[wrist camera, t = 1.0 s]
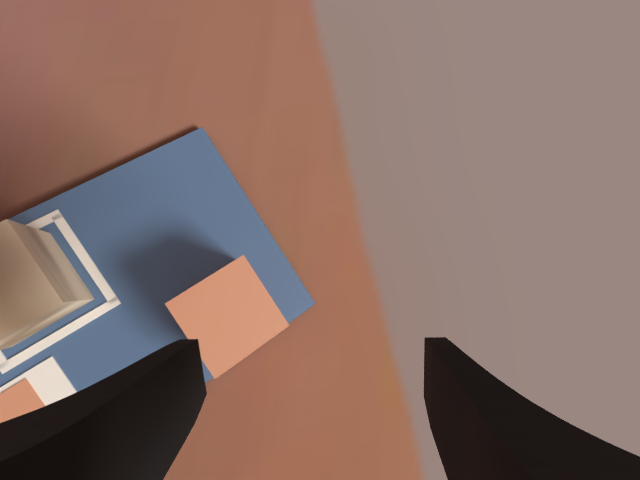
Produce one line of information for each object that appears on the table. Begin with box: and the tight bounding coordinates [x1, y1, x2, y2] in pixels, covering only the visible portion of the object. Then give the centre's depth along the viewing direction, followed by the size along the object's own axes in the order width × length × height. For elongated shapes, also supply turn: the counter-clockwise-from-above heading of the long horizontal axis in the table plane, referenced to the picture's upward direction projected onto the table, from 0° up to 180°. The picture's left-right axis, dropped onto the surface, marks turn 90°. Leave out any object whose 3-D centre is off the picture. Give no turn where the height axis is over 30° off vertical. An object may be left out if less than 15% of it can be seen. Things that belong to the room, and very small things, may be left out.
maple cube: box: [0, 219, 95, 350], centre depth 18 cm, size 4×4×4 cm
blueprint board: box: [0, 127, 315, 423], centre depth 21 cm, size 20×14×1 cm
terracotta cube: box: [165, 255, 289, 379], centre depth 20 cm, size 4×4×4 cm
